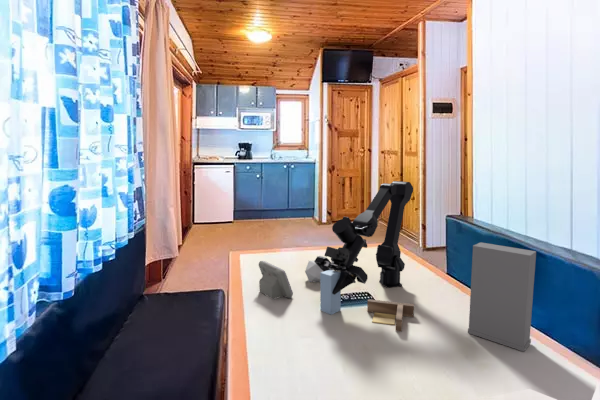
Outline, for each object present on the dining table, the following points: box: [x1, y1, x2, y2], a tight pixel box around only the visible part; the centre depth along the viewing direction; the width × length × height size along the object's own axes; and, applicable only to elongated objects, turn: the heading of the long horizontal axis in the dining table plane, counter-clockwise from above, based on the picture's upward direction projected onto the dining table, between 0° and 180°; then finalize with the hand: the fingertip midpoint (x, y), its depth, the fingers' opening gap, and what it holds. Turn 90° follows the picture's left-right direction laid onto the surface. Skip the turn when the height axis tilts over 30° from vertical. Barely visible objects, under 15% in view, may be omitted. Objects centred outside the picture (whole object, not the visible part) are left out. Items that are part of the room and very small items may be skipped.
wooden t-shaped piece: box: [366, 298, 415, 333], centre depth 112 cm, size 12×14×4 cm
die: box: [304, 260, 323, 283], centre depth 146 cm, size 8×9×10 cm
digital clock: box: [258, 260, 294, 300], centre depth 134 cm, size 16×9×11 cm, turn 24°
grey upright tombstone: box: [467, 241, 537, 352], centre depth 99 cm, size 14×6×25 cm, turn 44°
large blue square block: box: [319, 270, 342, 316], centre depth 119 cm, size 4×4×12 cm
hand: (327, 291), depth 118 cm, fingers closed on large blue square block, 4 cm apart
